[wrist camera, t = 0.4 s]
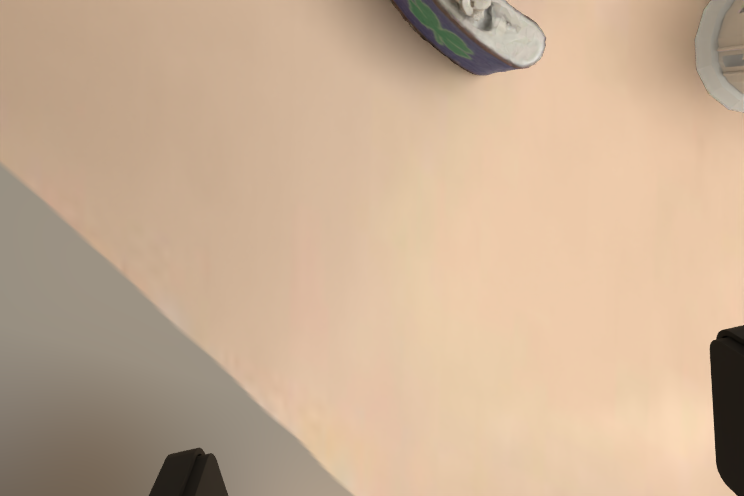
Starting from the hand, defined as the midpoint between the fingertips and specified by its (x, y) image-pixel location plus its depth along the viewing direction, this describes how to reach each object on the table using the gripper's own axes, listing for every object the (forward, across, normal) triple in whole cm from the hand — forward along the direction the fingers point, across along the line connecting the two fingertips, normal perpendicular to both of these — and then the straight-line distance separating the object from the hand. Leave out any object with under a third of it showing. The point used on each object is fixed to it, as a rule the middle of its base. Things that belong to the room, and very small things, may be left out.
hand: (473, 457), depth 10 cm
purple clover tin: (+30, -7, -10) cm, 32 cm away
